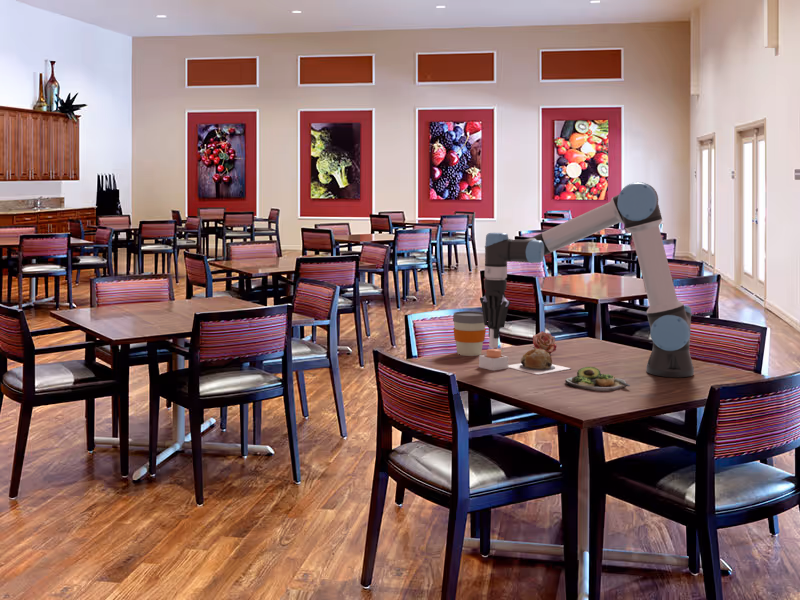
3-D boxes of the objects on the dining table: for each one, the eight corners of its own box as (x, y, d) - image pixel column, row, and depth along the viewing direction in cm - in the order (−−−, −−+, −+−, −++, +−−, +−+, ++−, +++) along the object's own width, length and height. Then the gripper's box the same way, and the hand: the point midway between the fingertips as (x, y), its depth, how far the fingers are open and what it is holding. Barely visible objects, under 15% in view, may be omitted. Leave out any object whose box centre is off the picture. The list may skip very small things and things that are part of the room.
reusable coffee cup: (445, 353, 318) (446, 313, 316) (464, 349, 328) (464, 310, 326) (474, 358, 311) (475, 317, 309) (492, 353, 321) (493, 313, 319)
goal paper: (536, 361, 306) (536, 360, 306) (570, 369, 293) (571, 368, 293) (504, 366, 296) (504, 365, 296) (537, 375, 283) (537, 373, 283)
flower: (524, 347, 323) (529, 332, 318) (543, 340, 327) (548, 326, 321) (539, 365, 317) (544, 350, 312) (558, 358, 321) (564, 343, 316)
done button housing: (494, 364, 299) (494, 353, 299) (508, 368, 294) (508, 356, 293) (479, 367, 295) (479, 355, 295) (492, 370, 290) (493, 358, 289)
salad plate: (643, 386, 269) (643, 372, 268) (612, 396, 256) (612, 381, 256) (589, 377, 283) (590, 363, 282) (558, 385, 270) (558, 371, 270)
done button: (494, 357, 298) (494, 348, 297) (504, 359, 294) (504, 350, 293) (483, 358, 295) (483, 350, 294) (493, 361, 291) (493, 352, 290)
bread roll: (538, 380, 289) (548, 360, 286) (513, 364, 294) (523, 344, 291) (550, 375, 297) (560, 356, 294) (526, 360, 302) (536, 340, 299)
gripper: (474, 277, 293) (472, 345, 297) (500, 281, 283) (498, 351, 286) (490, 276, 298) (488, 343, 301) (517, 279, 288) (514, 349, 291)
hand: (493, 347), depth 294 cm, fingers closed
